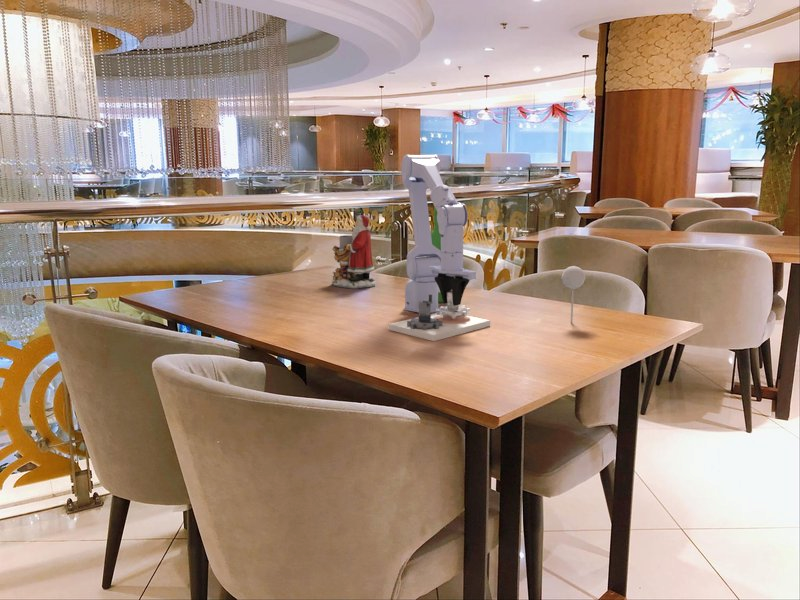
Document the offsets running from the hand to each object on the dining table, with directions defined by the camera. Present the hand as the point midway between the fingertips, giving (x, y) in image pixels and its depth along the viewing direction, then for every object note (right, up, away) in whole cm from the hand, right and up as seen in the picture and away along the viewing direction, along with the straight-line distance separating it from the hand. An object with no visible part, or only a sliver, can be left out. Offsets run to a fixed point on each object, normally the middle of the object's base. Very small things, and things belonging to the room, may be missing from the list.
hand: (451, 303), depth 168 cm
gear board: (-3, -6, -2) cm, 7 cm away
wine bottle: (-1, +1, +32) cm, 32 cm away
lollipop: (+32, -5, +2) cm, 32 cm away
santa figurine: (-30, +6, +61) cm, 68 cm away
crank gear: (-7, -5, -6) cm, 11 cm away
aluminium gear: (0, -3, +1) cm, 3 cm away
